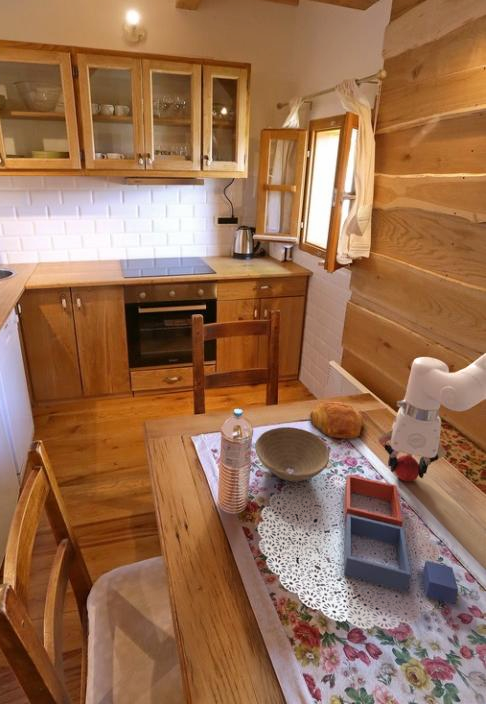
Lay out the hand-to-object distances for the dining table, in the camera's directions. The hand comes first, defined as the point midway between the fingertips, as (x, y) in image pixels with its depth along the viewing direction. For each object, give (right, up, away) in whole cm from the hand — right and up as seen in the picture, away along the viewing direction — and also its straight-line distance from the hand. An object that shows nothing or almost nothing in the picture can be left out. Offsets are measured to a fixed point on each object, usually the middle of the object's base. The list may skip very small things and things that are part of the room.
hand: (406, 470), depth 101 cm
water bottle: (-44, -5, -9) cm, 45 cm away
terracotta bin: (-13, -6, -10) cm, 17 cm away
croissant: (-11, +5, +22) cm, 25 cm away
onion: (0, -3, +1) cm, 3 cm away
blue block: (-7, -12, -27) cm, 30 cm away
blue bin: (-16, -10, -21) cm, 29 cm away
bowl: (-29, -2, +2) cm, 29 cm away
